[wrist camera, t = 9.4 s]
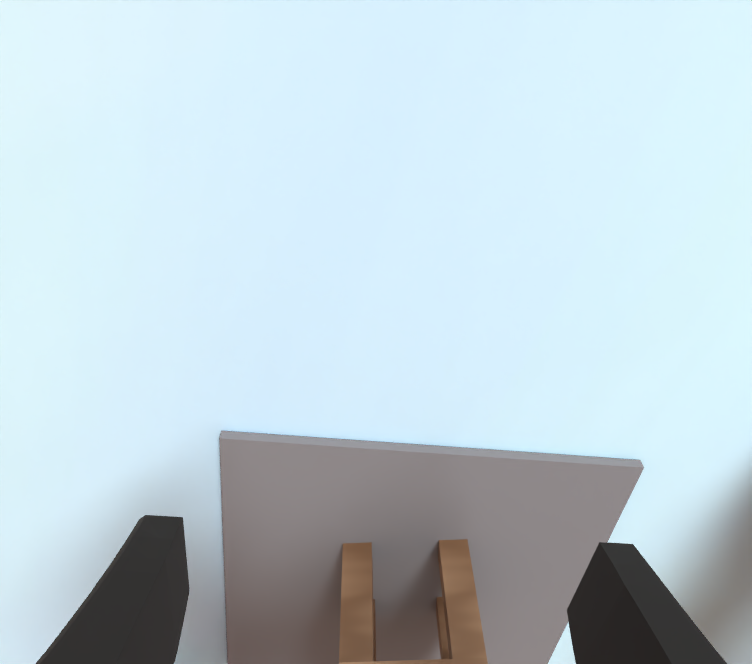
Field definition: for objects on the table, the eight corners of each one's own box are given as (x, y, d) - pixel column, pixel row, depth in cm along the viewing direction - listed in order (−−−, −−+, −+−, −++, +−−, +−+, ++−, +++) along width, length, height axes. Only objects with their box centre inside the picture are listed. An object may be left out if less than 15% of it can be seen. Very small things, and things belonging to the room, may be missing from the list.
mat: (639, 459, 24) (644, 467, 24) (536, 675, 33) (537, 683, 33) (221, 430, 23) (219, 438, 23) (229, 662, 32) (228, 670, 32)
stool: (467, 539, 26) (494, 705, 21) (461, 611, 29) (484, 773, 24) (342, 543, 26) (337, 710, 21) (349, 615, 29) (346, 778, 24)
